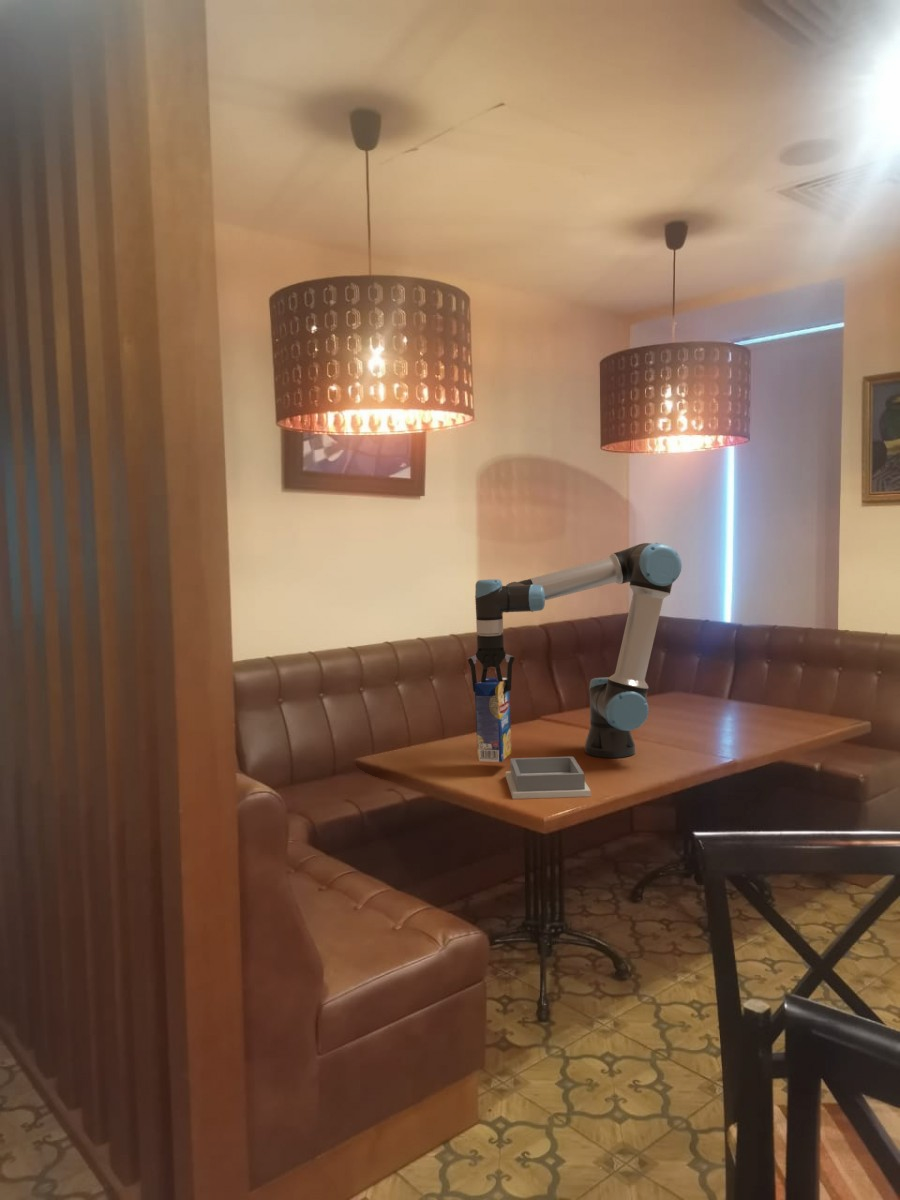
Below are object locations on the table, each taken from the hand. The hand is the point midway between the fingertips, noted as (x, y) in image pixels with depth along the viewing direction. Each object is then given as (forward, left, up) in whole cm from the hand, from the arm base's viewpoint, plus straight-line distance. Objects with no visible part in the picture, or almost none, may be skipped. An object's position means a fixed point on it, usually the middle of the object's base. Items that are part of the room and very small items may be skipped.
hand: (492, 715), depth 243 cm
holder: (-13, +17, -16) cm, 26 cm away
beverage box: (0, 0, -12) cm, 12 cm away
